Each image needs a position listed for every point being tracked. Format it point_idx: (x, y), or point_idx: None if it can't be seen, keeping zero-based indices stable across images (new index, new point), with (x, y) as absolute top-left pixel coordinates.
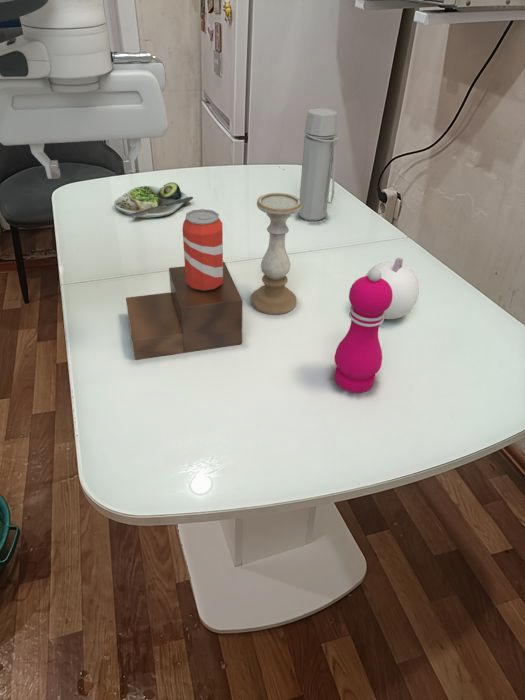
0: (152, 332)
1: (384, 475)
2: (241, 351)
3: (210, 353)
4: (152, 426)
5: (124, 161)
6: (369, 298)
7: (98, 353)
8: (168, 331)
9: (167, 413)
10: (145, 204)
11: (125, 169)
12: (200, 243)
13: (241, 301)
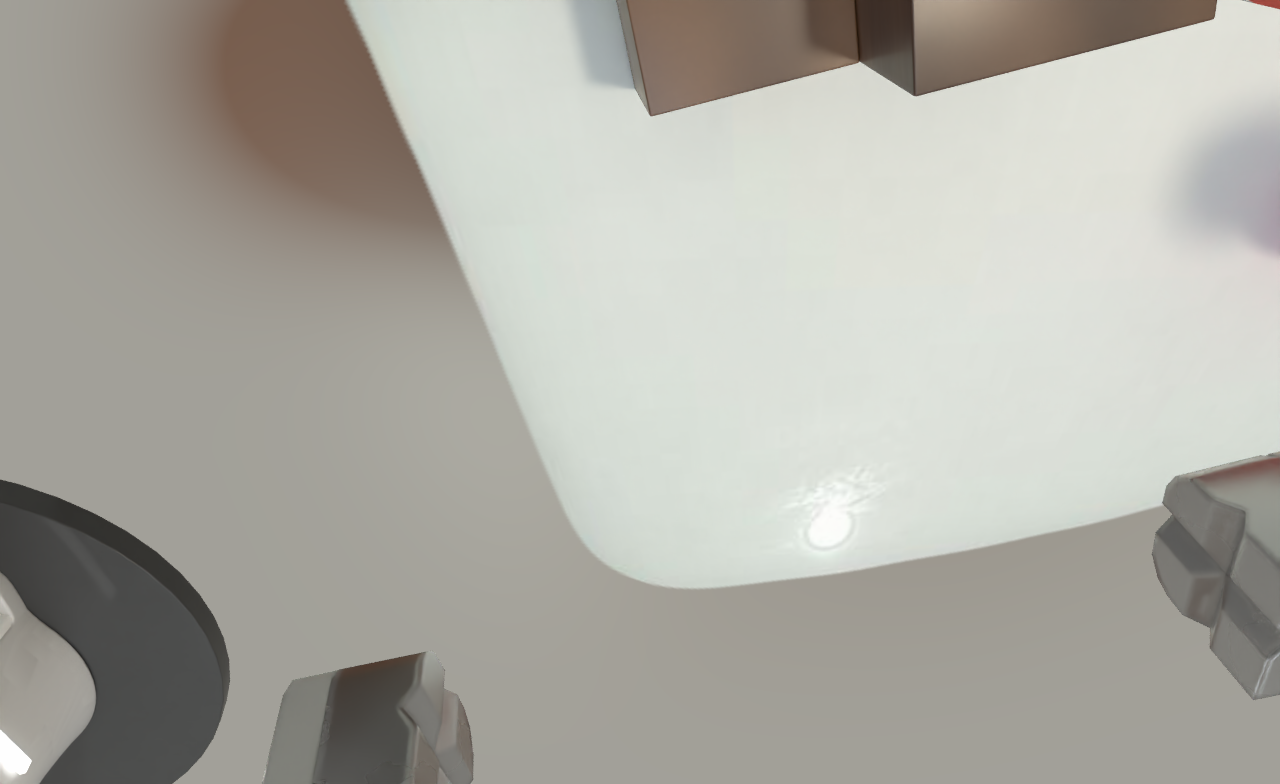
0: (732, 55)
1: None
2: None
3: None
4: (718, 388)
5: (1268, 691)
6: None
7: (475, 43)
8: (801, 46)
9: (758, 343)
10: None
11: (1198, 609)
12: (1260, 3)
13: (1204, 20)
